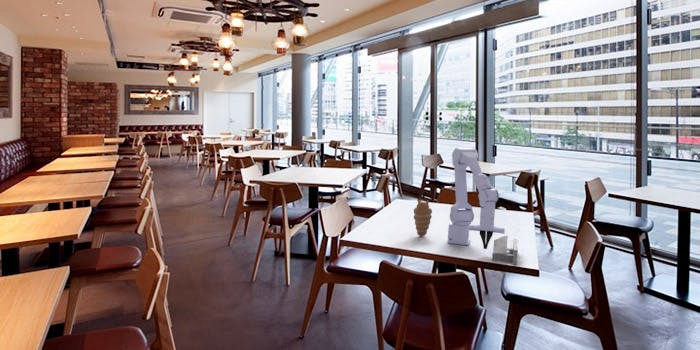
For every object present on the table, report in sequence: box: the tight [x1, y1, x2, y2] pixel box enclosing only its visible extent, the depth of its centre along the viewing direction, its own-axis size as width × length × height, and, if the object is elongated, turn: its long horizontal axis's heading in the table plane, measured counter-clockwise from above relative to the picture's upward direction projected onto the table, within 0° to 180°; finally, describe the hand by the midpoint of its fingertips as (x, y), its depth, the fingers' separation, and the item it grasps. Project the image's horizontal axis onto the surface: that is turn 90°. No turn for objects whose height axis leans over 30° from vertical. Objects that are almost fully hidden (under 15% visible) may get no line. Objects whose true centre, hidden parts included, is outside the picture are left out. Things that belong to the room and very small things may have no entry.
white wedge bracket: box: [492, 235, 510, 254], centre depth 193 cm, size 4×10×9 cm, turn 24°
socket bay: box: [491, 238, 519, 266], centre depth 194 cm, size 10×18×6 cm, turn 161°
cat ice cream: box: [413, 199, 433, 237], centre depth 225 cm, size 9×8×18 cm
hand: (485, 248), depth 197 cm, fingers closed
